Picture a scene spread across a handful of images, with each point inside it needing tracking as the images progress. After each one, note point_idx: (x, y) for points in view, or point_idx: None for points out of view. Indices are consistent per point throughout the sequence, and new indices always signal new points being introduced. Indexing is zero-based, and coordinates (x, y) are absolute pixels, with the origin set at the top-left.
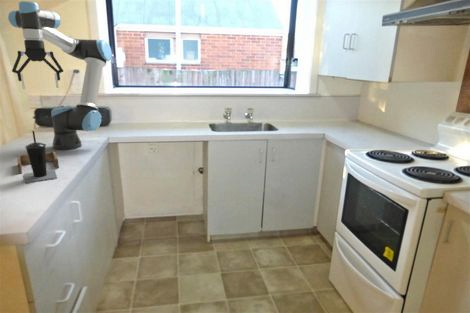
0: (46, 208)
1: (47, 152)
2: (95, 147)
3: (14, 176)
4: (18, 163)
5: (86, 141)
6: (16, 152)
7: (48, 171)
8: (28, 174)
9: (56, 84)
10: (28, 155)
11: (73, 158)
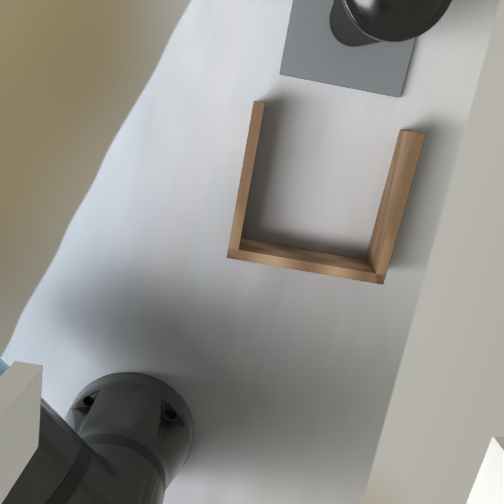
0: None
1: (260, 259)
2: (21, 341)
3: (434, 105)
4: (417, 145)
5: None
6: (331, 457)
7: (310, 58)
8: (390, 72)
9: (12, 400)
10: None
11: (158, 219)
